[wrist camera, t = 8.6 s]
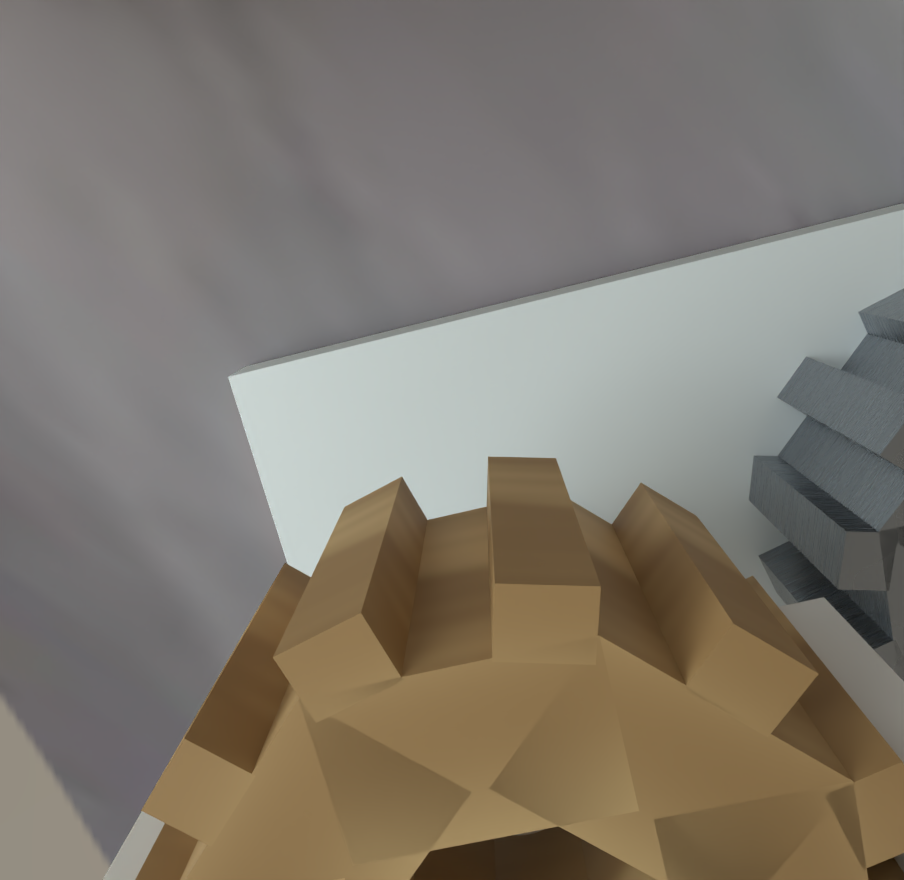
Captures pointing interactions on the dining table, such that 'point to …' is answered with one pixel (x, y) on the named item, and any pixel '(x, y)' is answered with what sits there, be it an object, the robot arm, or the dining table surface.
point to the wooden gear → (525, 711)
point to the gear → (845, 486)
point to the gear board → (578, 389)
